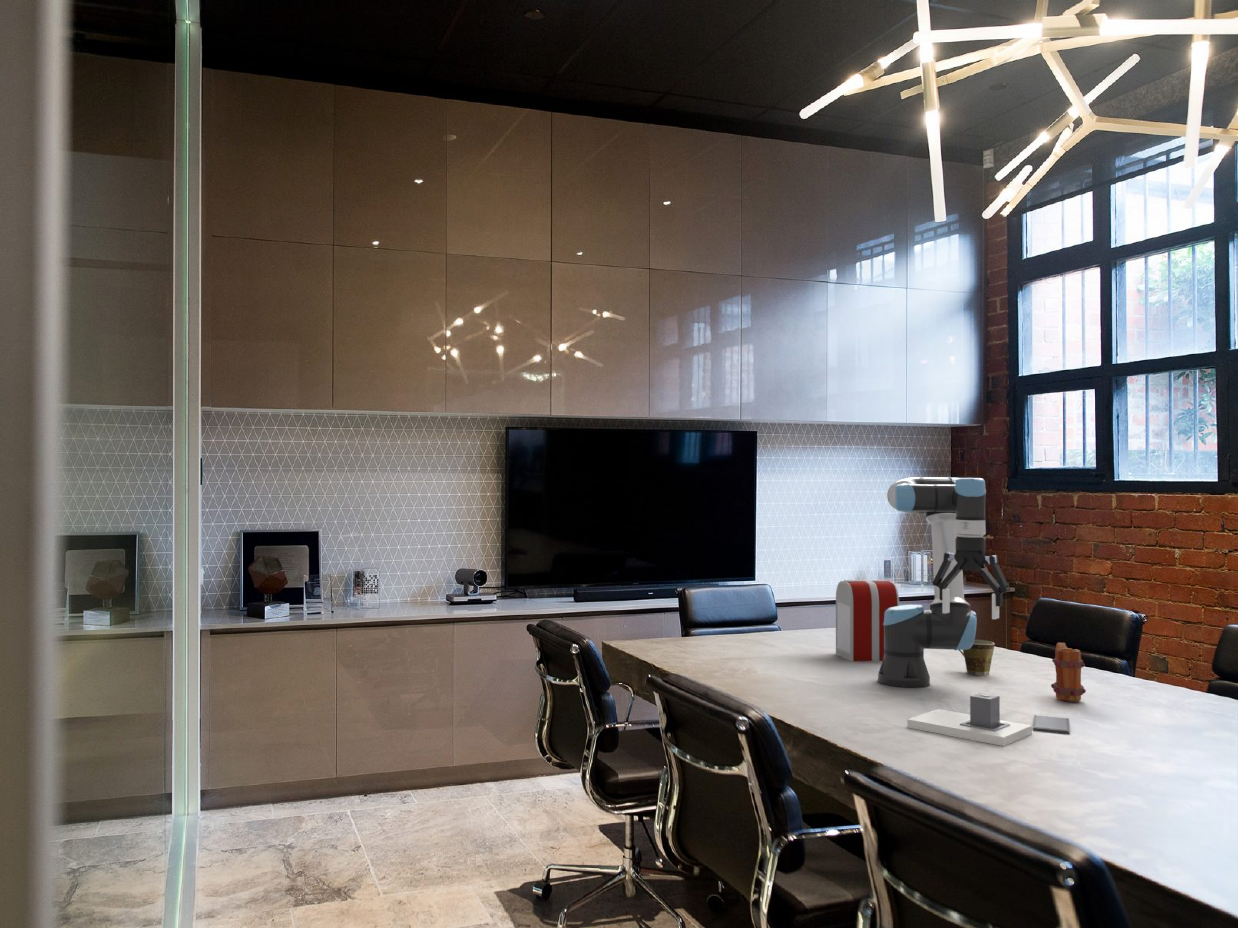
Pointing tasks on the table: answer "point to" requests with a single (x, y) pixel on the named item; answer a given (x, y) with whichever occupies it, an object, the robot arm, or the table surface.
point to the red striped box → (863, 618)
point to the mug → (1068, 674)
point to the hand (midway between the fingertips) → (970, 615)
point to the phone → (1051, 724)
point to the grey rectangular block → (985, 710)
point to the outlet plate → (968, 727)
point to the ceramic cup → (979, 657)
